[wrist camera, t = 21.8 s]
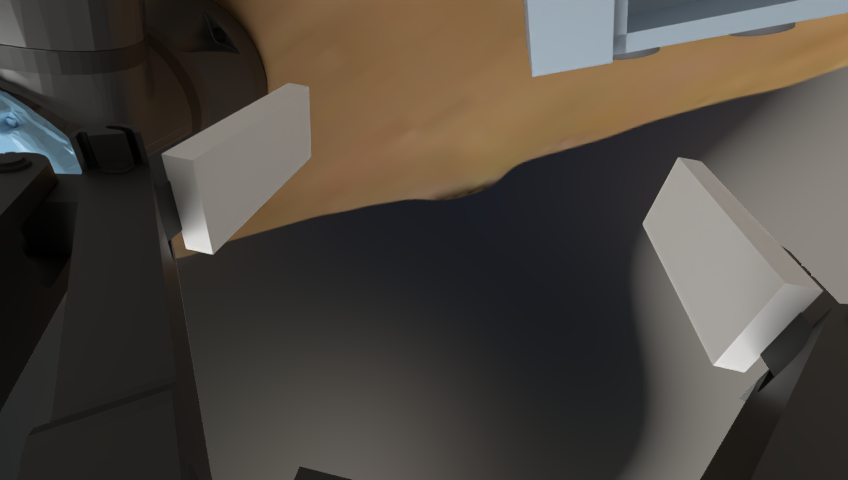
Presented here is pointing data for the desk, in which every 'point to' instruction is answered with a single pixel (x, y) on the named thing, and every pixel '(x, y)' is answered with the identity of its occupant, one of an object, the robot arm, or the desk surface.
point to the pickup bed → (649, 26)
